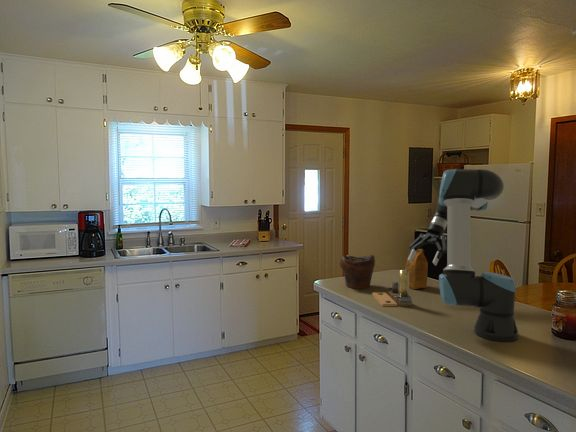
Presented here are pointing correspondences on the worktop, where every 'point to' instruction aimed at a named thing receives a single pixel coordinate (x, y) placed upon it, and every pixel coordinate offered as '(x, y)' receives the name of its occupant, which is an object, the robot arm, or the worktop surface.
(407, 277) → the brass leg
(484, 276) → the robot arm
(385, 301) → the orange bolt plate
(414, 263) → the coffee package
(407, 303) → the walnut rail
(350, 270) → the brown basket
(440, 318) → the worktop surface
